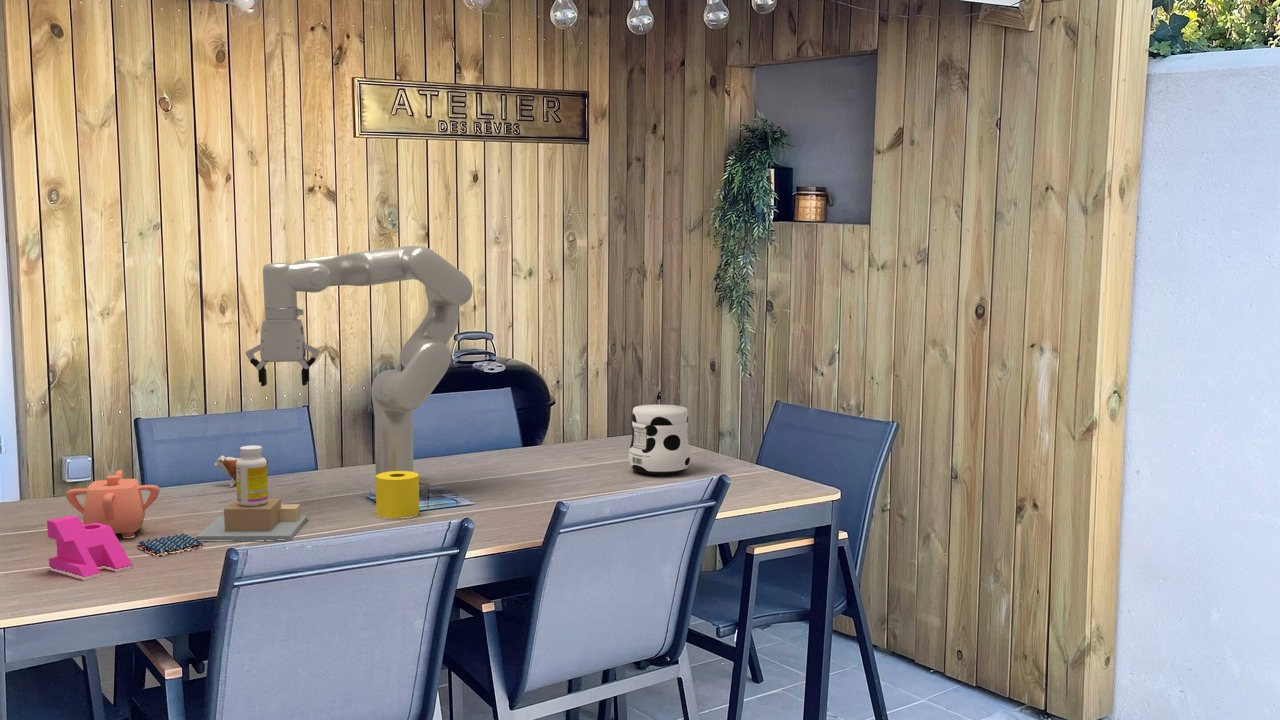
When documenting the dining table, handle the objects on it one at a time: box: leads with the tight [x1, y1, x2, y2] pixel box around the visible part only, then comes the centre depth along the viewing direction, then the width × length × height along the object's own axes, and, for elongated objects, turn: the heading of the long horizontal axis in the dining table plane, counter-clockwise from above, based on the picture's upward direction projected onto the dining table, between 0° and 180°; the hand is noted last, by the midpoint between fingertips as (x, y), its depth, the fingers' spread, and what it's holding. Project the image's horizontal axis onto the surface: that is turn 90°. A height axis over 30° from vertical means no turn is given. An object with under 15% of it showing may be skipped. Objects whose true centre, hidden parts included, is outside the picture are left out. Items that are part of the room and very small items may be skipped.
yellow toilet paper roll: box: [375, 471, 420, 518], centre depth 288 cm, size 10×10×9 cm
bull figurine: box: [213, 455, 269, 488], centre depth 318 cm, size 4×13×8 cm, turn 108°
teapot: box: [65, 469, 161, 537], centre depth 268 cm, size 17×16×13 cm
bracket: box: [46, 515, 133, 577], centre depth 241 cm, size 12×10×10 cm
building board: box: [195, 498, 309, 542], centre depth 272 cm, size 20×18×6 cm
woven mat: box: [136, 533, 204, 555], centre depth 257 cm, size 10×11×2 cm
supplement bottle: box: [236, 445, 269, 506], centre depth 271 cm, size 7×7×13 cm
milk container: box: [628, 403, 692, 476], centre depth 338 cm, size 17×17×18 cm
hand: (284, 385), depth 293 cm, fingers open, 9 cm apart
